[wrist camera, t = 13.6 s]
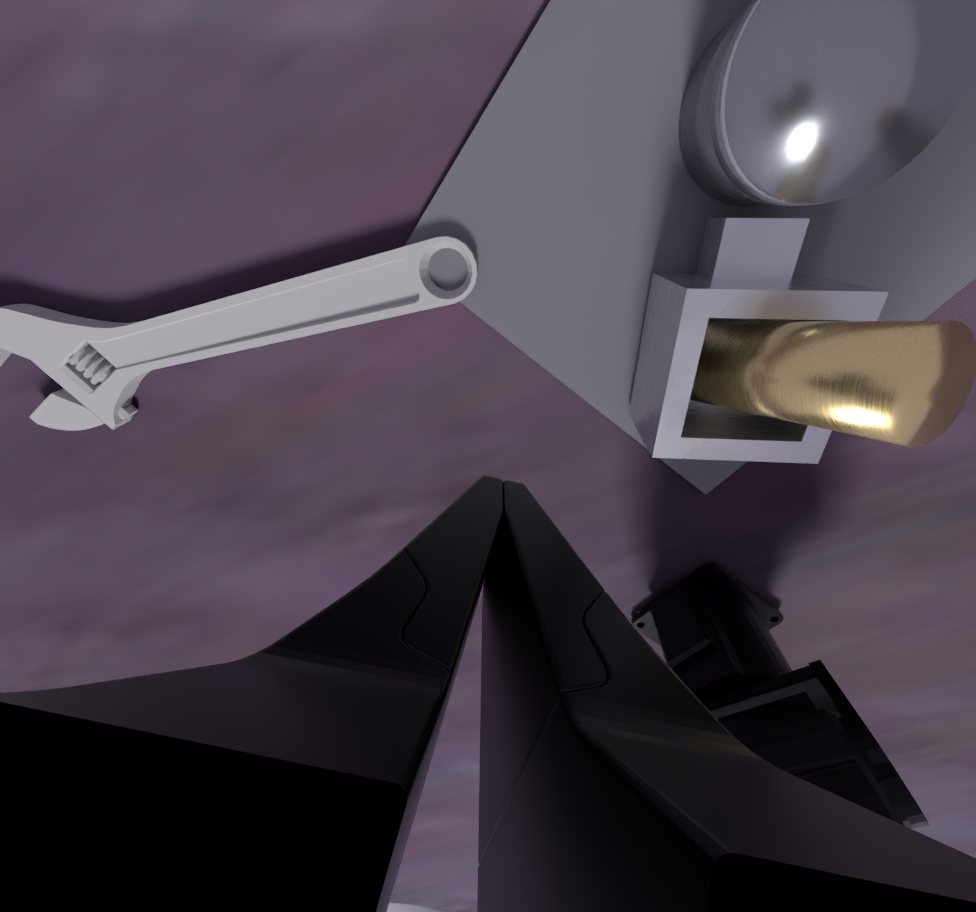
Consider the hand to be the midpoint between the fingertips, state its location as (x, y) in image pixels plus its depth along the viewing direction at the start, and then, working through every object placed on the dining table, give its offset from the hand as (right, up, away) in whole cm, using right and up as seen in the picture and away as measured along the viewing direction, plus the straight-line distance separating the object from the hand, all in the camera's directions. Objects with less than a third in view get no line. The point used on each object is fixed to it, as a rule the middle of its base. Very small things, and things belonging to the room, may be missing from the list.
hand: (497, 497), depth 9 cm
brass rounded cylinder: (+9, +5, +9) cm, 13 cm away
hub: (+10, +13, +7) cm, 18 cm away
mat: (+9, +10, +9) cm, 16 cm away
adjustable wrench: (-13, +7, +13) cm, 19 cm away
